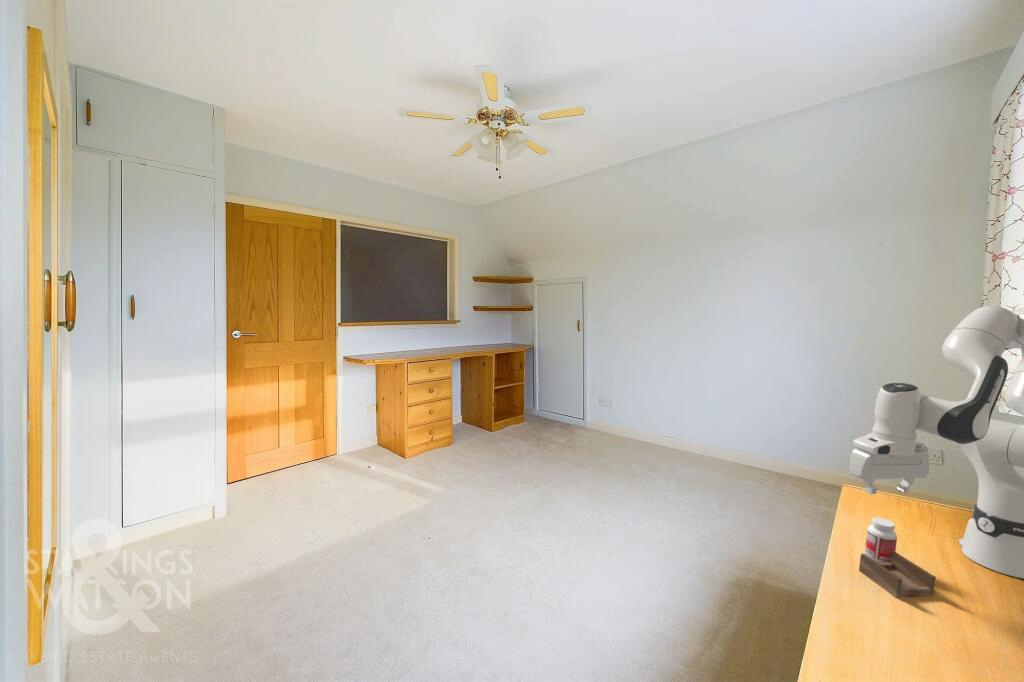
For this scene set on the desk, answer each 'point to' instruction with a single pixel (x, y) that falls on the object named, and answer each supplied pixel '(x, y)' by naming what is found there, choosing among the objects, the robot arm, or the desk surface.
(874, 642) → the desk surface
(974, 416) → the robot arm
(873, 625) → the desk surface
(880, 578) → the cradle
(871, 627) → the desk surface
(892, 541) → the pill bottle
